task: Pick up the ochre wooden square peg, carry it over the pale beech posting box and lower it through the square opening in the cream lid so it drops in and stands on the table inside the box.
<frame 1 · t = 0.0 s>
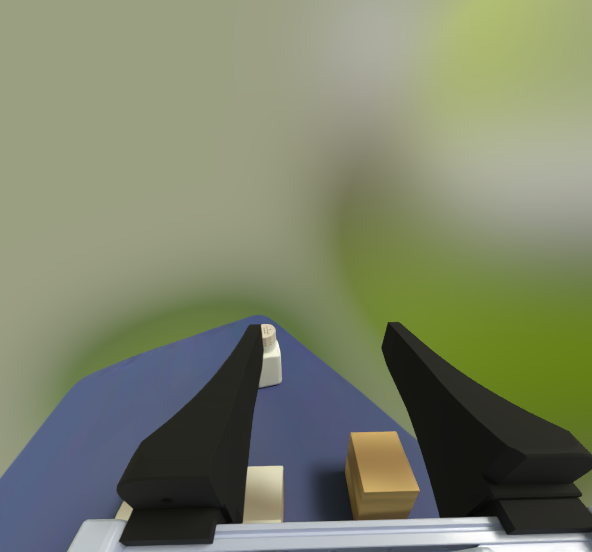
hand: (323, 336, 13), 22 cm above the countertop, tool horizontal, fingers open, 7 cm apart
pepper shaker: (268, 378, 36), on the countertop
ochre peg: (371, 496, 23), on the countertop
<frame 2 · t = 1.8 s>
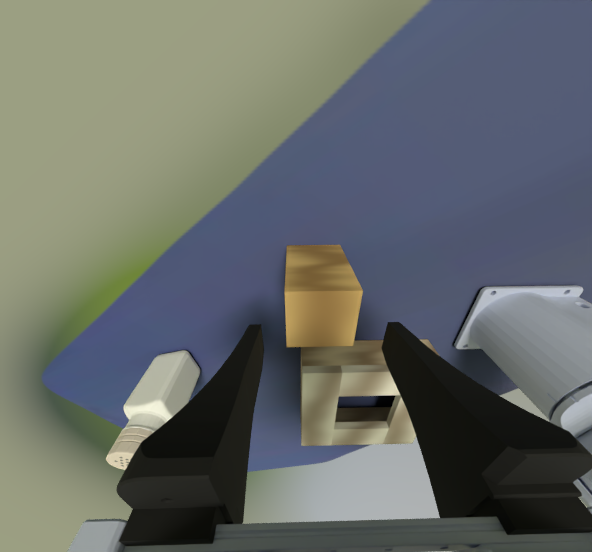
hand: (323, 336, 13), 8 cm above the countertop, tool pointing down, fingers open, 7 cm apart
posting box: (356, 380, 28), on the countertop
pepper shaker: (181, 360, 26), on the countertop
ochre peg: (312, 268, 20), on the countertop
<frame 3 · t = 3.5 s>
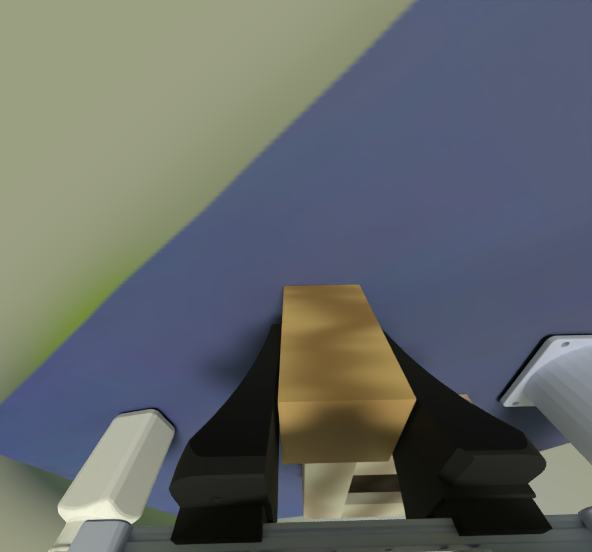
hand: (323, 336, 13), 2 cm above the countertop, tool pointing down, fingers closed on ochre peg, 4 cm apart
posting box: (371, 437, 22), on the countertop
pepper shaker: (150, 417, 20), on the countertop
ochre peg: (319, 314, 14), on the countertop, touching gripper
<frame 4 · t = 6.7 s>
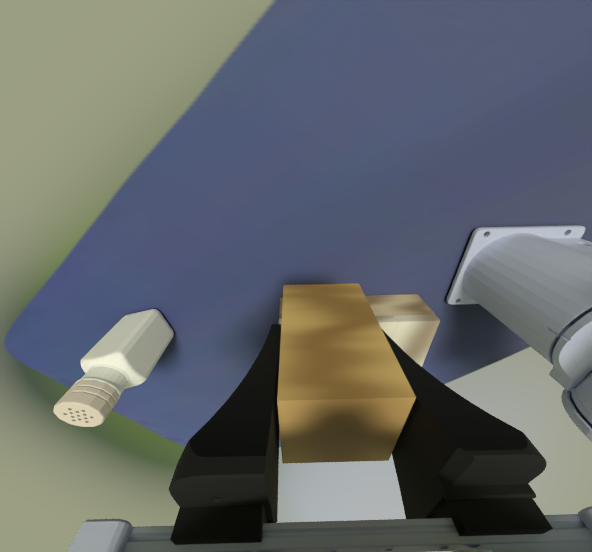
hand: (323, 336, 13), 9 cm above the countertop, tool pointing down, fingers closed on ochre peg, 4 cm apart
posting box: (342, 344, 26), on the countertop
pepper shaker: (152, 322, 24), on the countertop
ochre peg: (319, 313, 14), point 7 cm above the countertop, touching gripper
when the fingers open (5 cm above the countertop, at t = 10.1 s): ochre peg drops 3 cm, resting in posting box.
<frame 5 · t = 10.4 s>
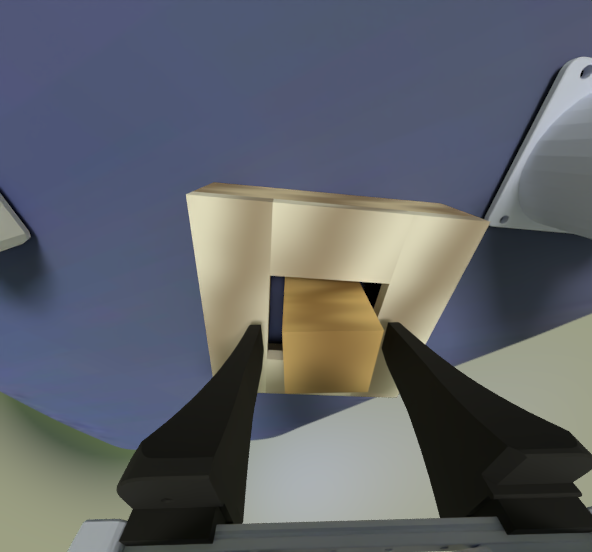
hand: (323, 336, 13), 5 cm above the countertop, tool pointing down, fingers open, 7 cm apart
posting box: (315, 289, 17), on the countertop
ochre peg: (315, 287, 17), resting in posting box
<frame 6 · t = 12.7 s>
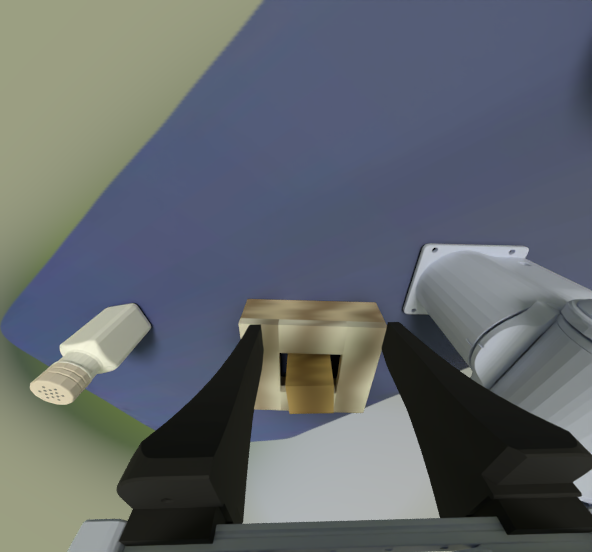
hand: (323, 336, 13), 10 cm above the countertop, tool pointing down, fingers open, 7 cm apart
posting box: (308, 346, 28), on the countertop
pepper shaker: (132, 315, 26), on the countertop
ochre peg: (308, 345, 28), resting in posting box
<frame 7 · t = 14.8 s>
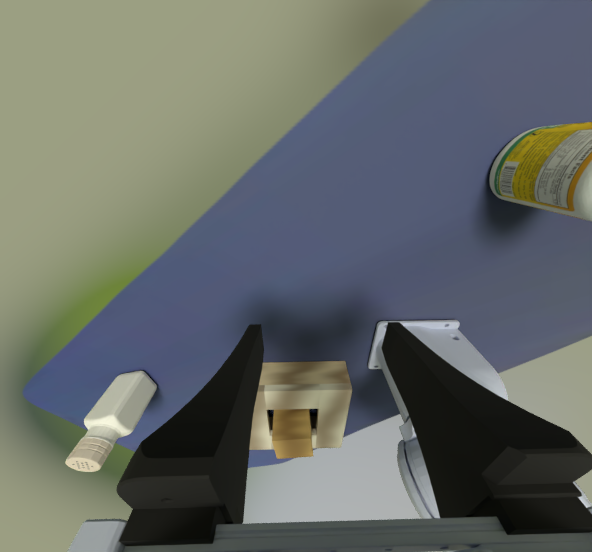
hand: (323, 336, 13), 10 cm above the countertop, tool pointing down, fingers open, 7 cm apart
posting box: (292, 394, 33), on the countertop
supplement bottle: (519, 166, 18), on the countertop
pepper shaker: (140, 378, 31), on the countertop
ochre peg: (292, 393, 33), resting in posting box
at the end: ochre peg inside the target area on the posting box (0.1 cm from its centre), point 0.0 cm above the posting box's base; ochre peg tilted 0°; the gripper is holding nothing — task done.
